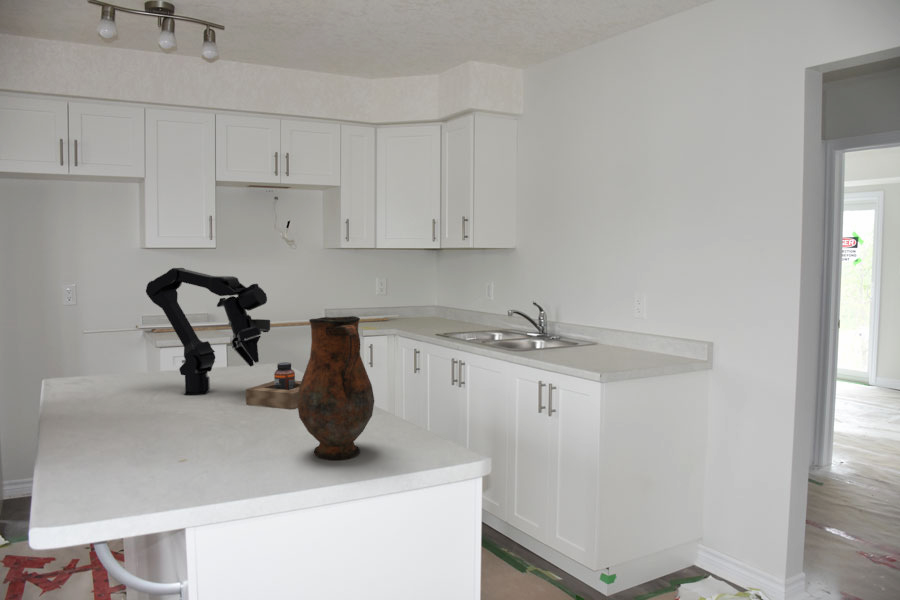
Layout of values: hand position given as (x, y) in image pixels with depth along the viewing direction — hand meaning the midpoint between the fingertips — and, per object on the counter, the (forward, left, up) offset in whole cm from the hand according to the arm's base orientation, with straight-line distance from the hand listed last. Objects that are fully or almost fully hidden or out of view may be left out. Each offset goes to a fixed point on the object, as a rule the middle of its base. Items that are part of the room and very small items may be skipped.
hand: (254, 364), depth 204 cm
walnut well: (+9, -7, -10) cm, 16 cm away
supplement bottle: (+9, -7, -10) cm, 15 cm away
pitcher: (+23, -64, -10) cm, 69 cm away
